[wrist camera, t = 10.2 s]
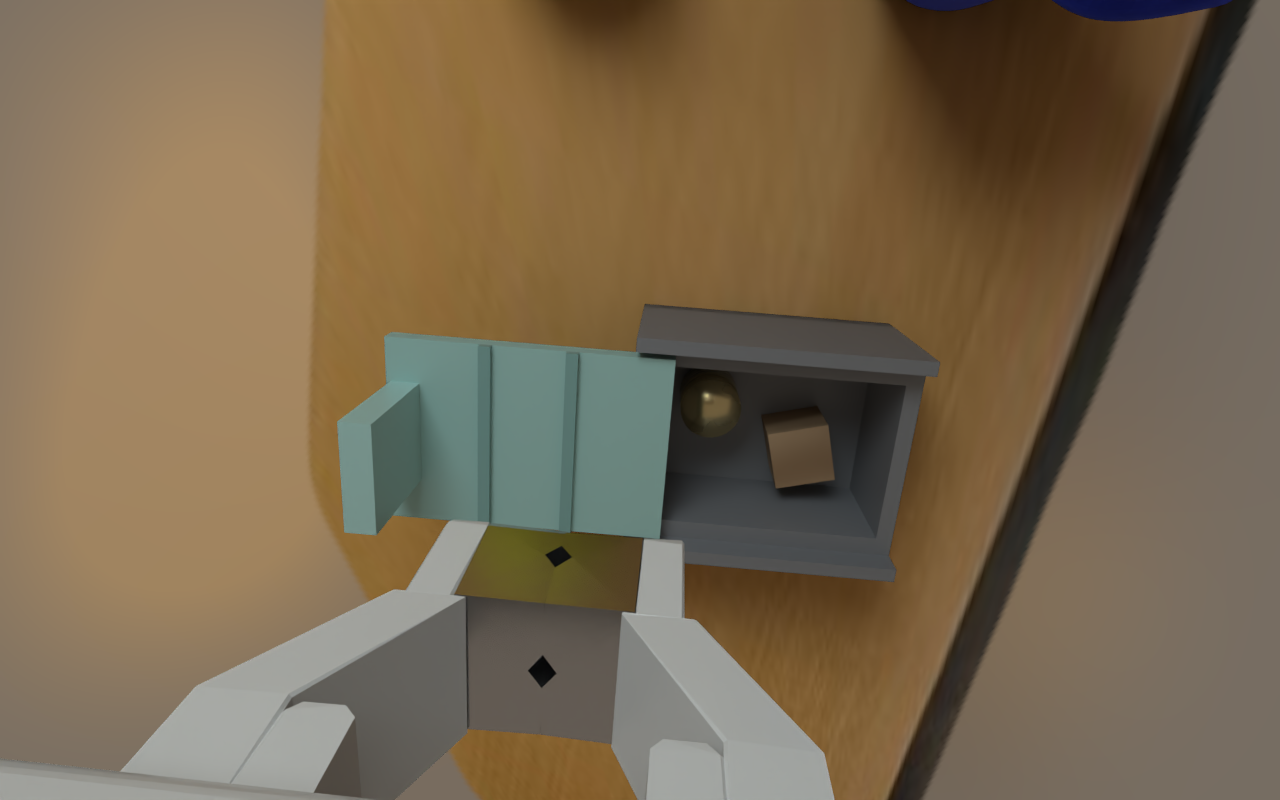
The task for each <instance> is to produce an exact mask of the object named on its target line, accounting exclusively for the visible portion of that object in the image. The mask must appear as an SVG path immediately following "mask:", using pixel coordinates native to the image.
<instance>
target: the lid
mask: <svg viewBox="0 0 1280 800" xmlns="http://www.w3.org/2000/svg"><path fill="white" fill-rule="evenodd" d="M384 339H385V363H386V385H385V386H384V387H382V388H381V389H380V390H378V391H377V392H376V393H374V394H373V395H372V396H370V397H369V398H368V399H366V400H365V401H364V402H363V403H361V404H360V405H359V406H357V407H356V408H355V409H353V410H352V411H351V412H349V413H348V414H347V415H345V416H344V417H343V418H341V419H340V420H339V421H337V426H338V441H339V456H340V471H341V487H342V502H343V517H344V532H346V533H357V534H368V535H377V534H378V533H379V531H380V530H381V529H382V528H383V526H384V525H385V524H386V523H387V521H388V520H389V519H390V518H391V517H392V515H395V516H406V517H418V518H429V519H440V520H454V519H456V520H469V521H482V522H489V523H490V524H492V523H497V524H505V525H514V526H522V527H531V528H542V529H553V530H559V531H565V532H568V533H571V531H575V532H587V533H598V534H609V535H621V536H632V537H643V538H654V539H660V529H661V518H662V507H663V496H664V485H665V474H666V463H667V452H668V441H669V430H670V419H671V408H672V397H673V386H674V375H675V364H676V355H664V354H652V353H640V352H628V351H616V350H604V349H592V348H579V347H567V346H555V345H543V344H531V343H519V342H506V341H494V340H482V339H470V338H458V337H446V336H434V335H421V334H409V333H397V332H391V333H389V334H388V335H386V336H384Z"/></svg>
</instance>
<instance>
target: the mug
mask: <svg viewBox="0 0 1280 800" xmlns="http://www.w3.org/2000/svg"><path fill="white" fill-rule="evenodd" d="M906 1H908V2H909V3H912V4H914V5H916V6H919V7H922V8H925V9H930V10H937V11H953V10H961V9H965V8H969V7H973V6H976V5H979V4H983V3H986V2H989V1H992V0H906ZM1052 1H1054V2H1055V3H1057V4H1058V5H1060V6H1061V7H1063V8H1065V9H1066V10H1068V11H1070V12H1072V13H1075V14H1077V15H1080V16H1083V17H1086V18H1090V19H1095V20H1103V21H1135V20H1144V19H1153V18H1159V17H1165V16H1172V15H1178V14H1183V13H1188V12H1193V11H1198V10H1203V9H1207V8H1212V7H1217V6H1220V5H1224V4H1227V3H1228V2H1230V1H1232V0H1052Z"/></svg>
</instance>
